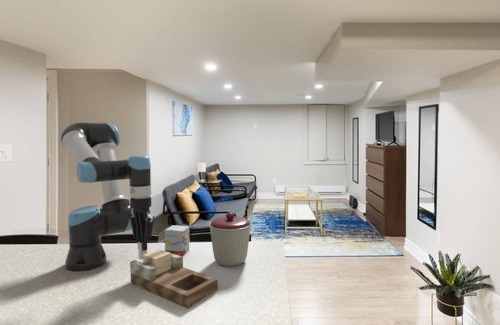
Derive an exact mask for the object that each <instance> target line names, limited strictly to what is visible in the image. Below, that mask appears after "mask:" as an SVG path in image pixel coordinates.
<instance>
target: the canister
mask: <svg viewBox="0 0 500 325" xmlns="http://www.w3.org/2000/svg"><path fill="white" fill-rule="evenodd" d="M252 224H253V223H252V221H251V220H249V219H247V218H244V217H241V216H235V213H234V212H227V213H226V214H225V216H222V217H217V218H214V219H213V220H212V221H210V222H209V223H208V227H209V229H210V237H211V246H212V252H213V257H214V261H215V262H216V263H217V264H218V265H221V266H224V267H235V266H239V265H241V264H244V262H245V261H246V259H247V256H248V250H249V241H250V233H251V232H250V231H251V226H252Z"/></svg>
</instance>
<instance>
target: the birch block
mask: <svg viewBox="0 0 500 325" xmlns="http://www.w3.org/2000/svg"><path fill="white" fill-rule="evenodd" d="M142 263H145V264H147V265H150V266H153V267H155V268H156V273H157V275H158V274H161V273H163V272H165V271H168V270H170V269H171V253H169V252H166V251H165V250H162V249H159V248H158V249H156V250H152V251H150V252H147V253H146V254H144V255H143V259H142Z"/></svg>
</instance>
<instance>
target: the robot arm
mask: <svg viewBox="0 0 500 325" xmlns="http://www.w3.org/2000/svg"><path fill="white" fill-rule="evenodd" d="M120 139H121V138H120V133H119V130H118V128H117V126H116V125H115V124H113V123H109V122H108V123H107V122H80V121H79V122H75V123H72V124H70V125H68V126H67V127H66V128H64V130H63V131H62V132H61V135H60V143H61V145H62V146H63V148H65V150H67V151H69V152H70V154H71V157H73V159H74V160H75V162H76V164H77V165H76V177H77V180H78V181H79V182H80V183H81V184H82V183H84V184H85V183H87V184H88V183H90V184H91V183H97V182H98V183H99V182H100V185H101V192H102V196H103V200H104V202H103V203H102V204H101V208H100V205H87V206H82V207H78V208H77V209H73V210H72V211H70V212H69V214H68V217H67V227H68V244H69V247H68V251H67V252H68V253H67V255H66V257H65V258H66V259H65V262H64V264H65V265H64V266H65V267H64V268H65V269H66V270H68V271H72V272H73V271H75V272H80V271H89V270H93V269H96V268H99V267H101V266H103V265H104V264H105V263H106V262H107V254H106V251H105V249H104V246H103V244H102V237H103V236H109V235H114V234H119V233H125V232H129V231H132V236H133V239H134V240H136V242H137V250H138V260H142V261H143V255H144V254H146V253H148V241H149V242H150V241H151V240H152V235H153V226H154V222H155V219H156V217H155V216H152V215H151V210H150V208H151V207H152V197H151V196H152V184H151V182H152V176H151V174H152V172H151V166H152V164H151V159H150V156H148V155H131V156H129V157H128V159H120V160H117V156H116V151H117V149H118V146H119V145H120V143H121V140H120ZM122 180H129V196H130V199H129V198H128V197H126V196H125V192H124V188H123V183H122Z"/></svg>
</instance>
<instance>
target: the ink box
mask: <svg viewBox="0 0 500 325" xmlns="http://www.w3.org/2000/svg"><path fill="white" fill-rule="evenodd" d="M164 251H166V252H169V253H172V254H175V255H179V256H182V257H183V258H184V256H185V255H186V254H188V252H190V226H187V225H177V224H176V225H175V224H174V225H170V226H168V228H166V229H164Z"/></svg>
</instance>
